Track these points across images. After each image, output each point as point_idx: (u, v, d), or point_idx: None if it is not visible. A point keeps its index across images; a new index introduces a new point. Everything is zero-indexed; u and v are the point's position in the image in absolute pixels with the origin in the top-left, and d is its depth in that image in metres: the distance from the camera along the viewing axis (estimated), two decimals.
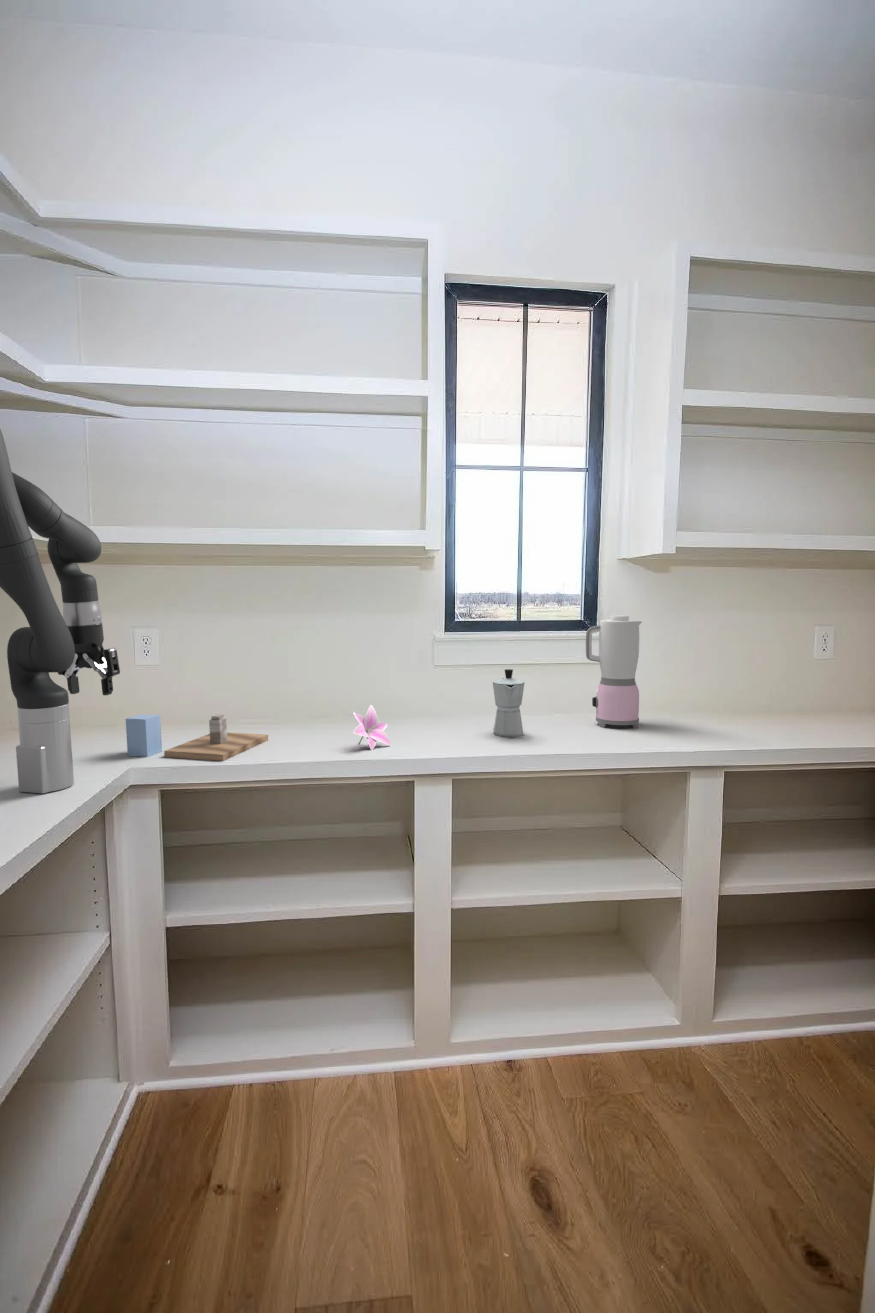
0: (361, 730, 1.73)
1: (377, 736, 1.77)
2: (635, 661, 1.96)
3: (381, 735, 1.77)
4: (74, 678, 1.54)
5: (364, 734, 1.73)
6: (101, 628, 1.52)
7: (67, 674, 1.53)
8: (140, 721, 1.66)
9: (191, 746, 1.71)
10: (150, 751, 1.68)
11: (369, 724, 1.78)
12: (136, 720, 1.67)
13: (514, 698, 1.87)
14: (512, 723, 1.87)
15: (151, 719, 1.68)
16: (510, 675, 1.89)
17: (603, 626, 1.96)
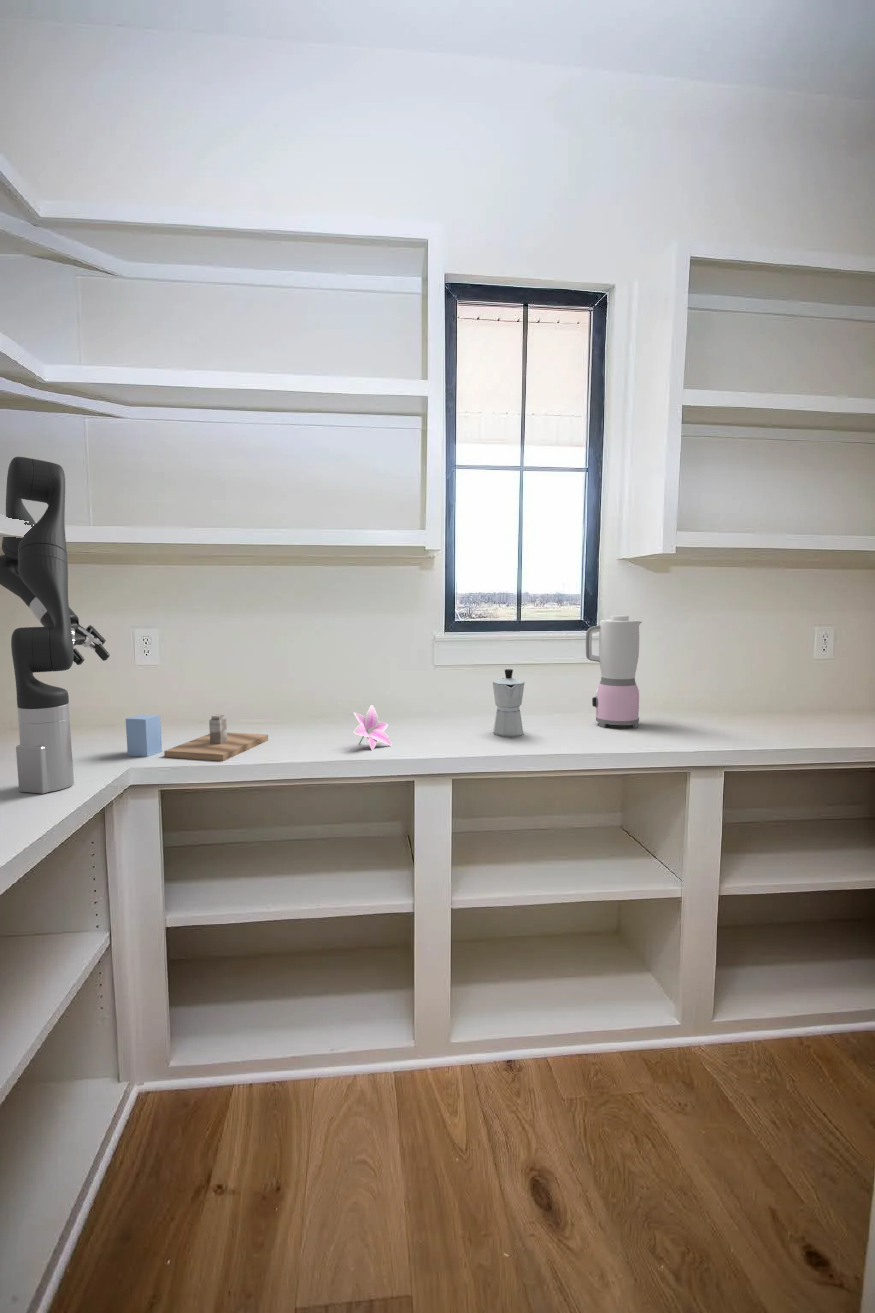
0: (361, 730, 1.73)
1: (378, 736, 1.77)
2: (635, 661, 1.96)
3: (381, 735, 1.77)
4: None
5: (365, 734, 1.73)
6: None
7: None
8: (140, 721, 1.66)
9: (191, 746, 1.71)
10: (150, 751, 1.68)
11: (370, 724, 1.78)
12: (136, 720, 1.67)
13: (514, 698, 1.87)
14: (512, 723, 1.87)
15: (151, 719, 1.68)
16: (510, 675, 1.89)
17: (603, 626, 1.96)
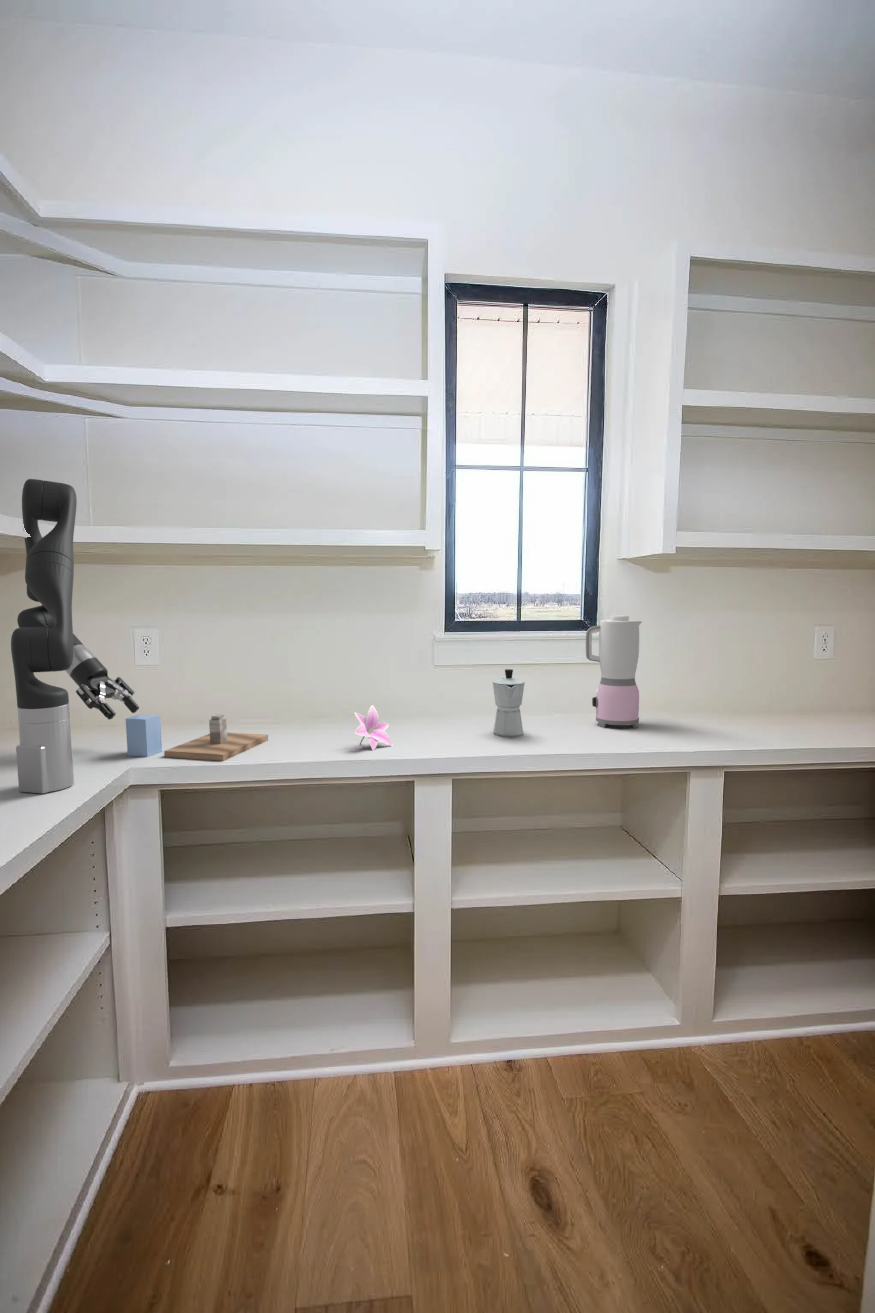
0: (362, 730, 1.73)
1: (379, 736, 1.77)
2: (635, 661, 1.96)
3: (382, 735, 1.77)
4: None
5: (365, 734, 1.73)
6: None
7: (102, 700, 1.66)
8: (140, 721, 1.66)
9: (191, 746, 1.71)
10: (150, 751, 1.68)
11: (371, 724, 1.78)
12: (136, 720, 1.67)
13: (514, 698, 1.87)
14: (513, 723, 1.87)
15: (151, 719, 1.68)
16: (510, 675, 1.89)
17: (603, 626, 1.96)
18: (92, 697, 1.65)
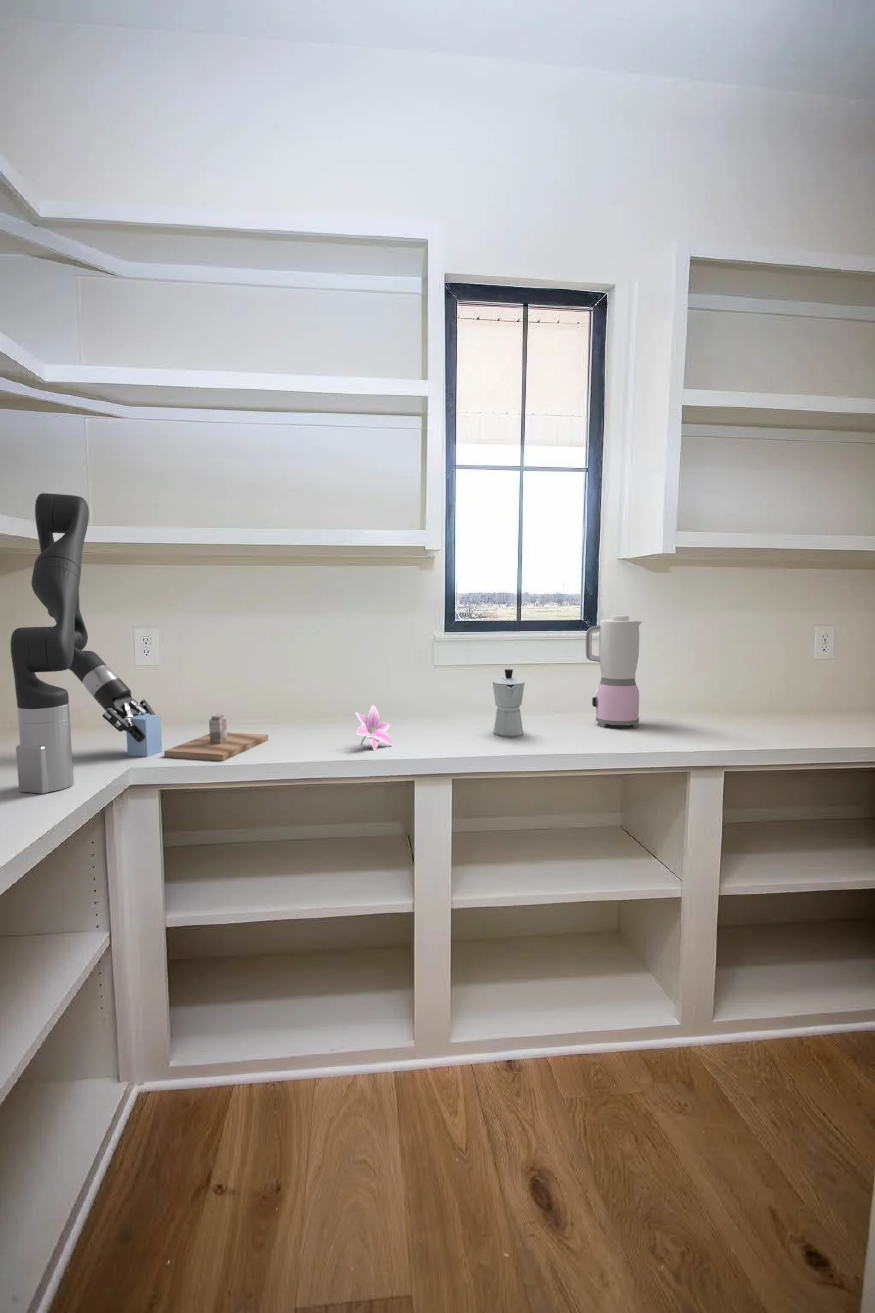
0: (363, 730, 1.73)
1: (380, 736, 1.77)
2: (635, 661, 1.96)
3: (383, 735, 1.77)
4: None
5: (367, 734, 1.73)
6: None
7: (132, 722, 1.67)
8: (140, 721, 1.66)
9: (191, 746, 1.71)
10: (150, 751, 1.68)
11: (372, 724, 1.78)
12: (136, 720, 1.67)
13: (514, 698, 1.87)
14: (512, 723, 1.87)
15: (151, 719, 1.68)
16: (510, 675, 1.89)
17: (603, 626, 1.96)
18: (121, 720, 1.64)
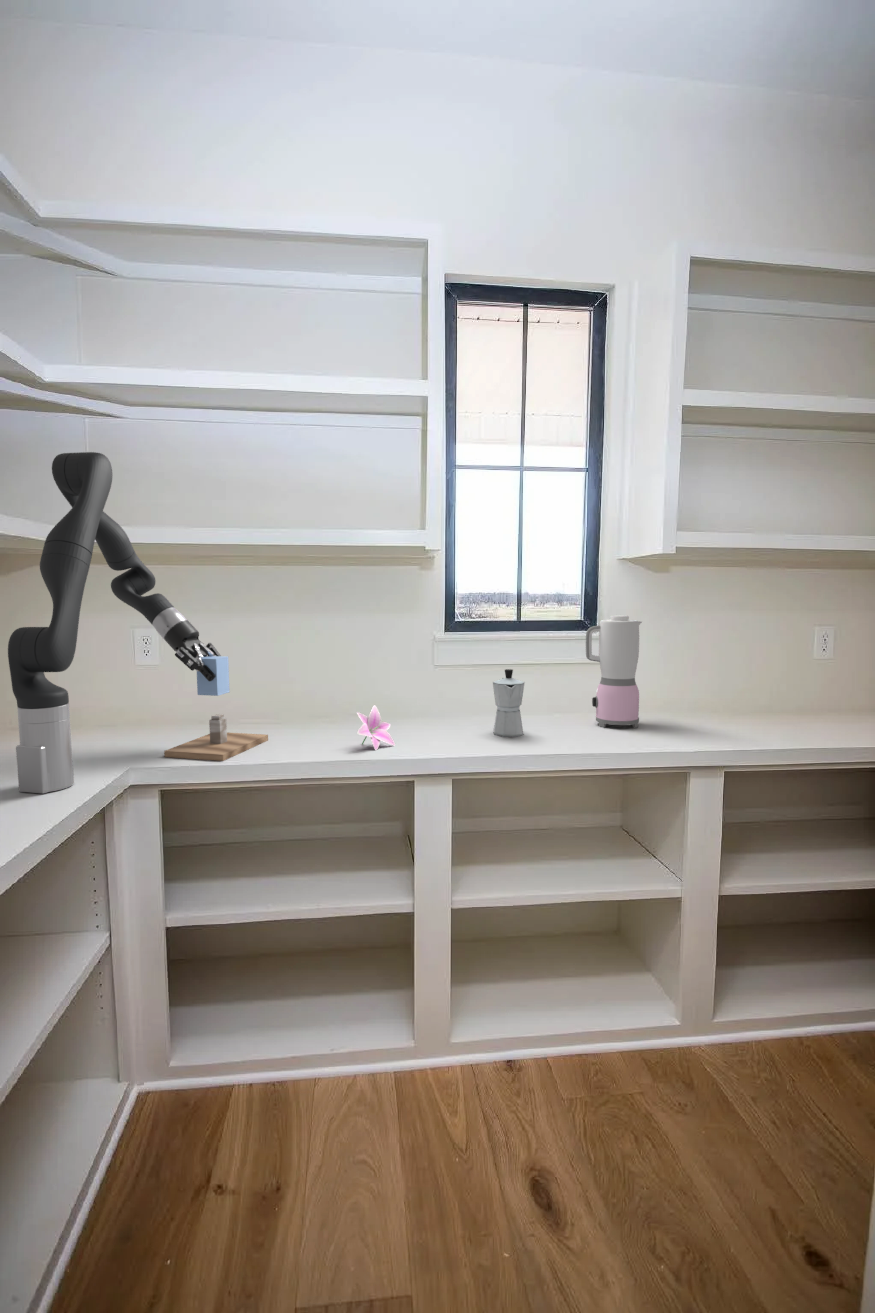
0: (365, 730, 1.73)
1: (381, 736, 1.77)
2: (635, 661, 1.96)
3: (384, 735, 1.77)
4: None
5: (368, 734, 1.73)
6: None
7: (203, 662, 1.70)
8: (211, 661, 1.70)
9: (191, 746, 1.71)
10: (220, 690, 1.72)
11: (373, 724, 1.78)
12: (207, 660, 1.70)
13: (514, 698, 1.87)
14: (512, 723, 1.87)
15: (221, 660, 1.72)
16: (510, 675, 1.89)
17: (603, 626, 1.96)
18: (194, 659, 1.68)
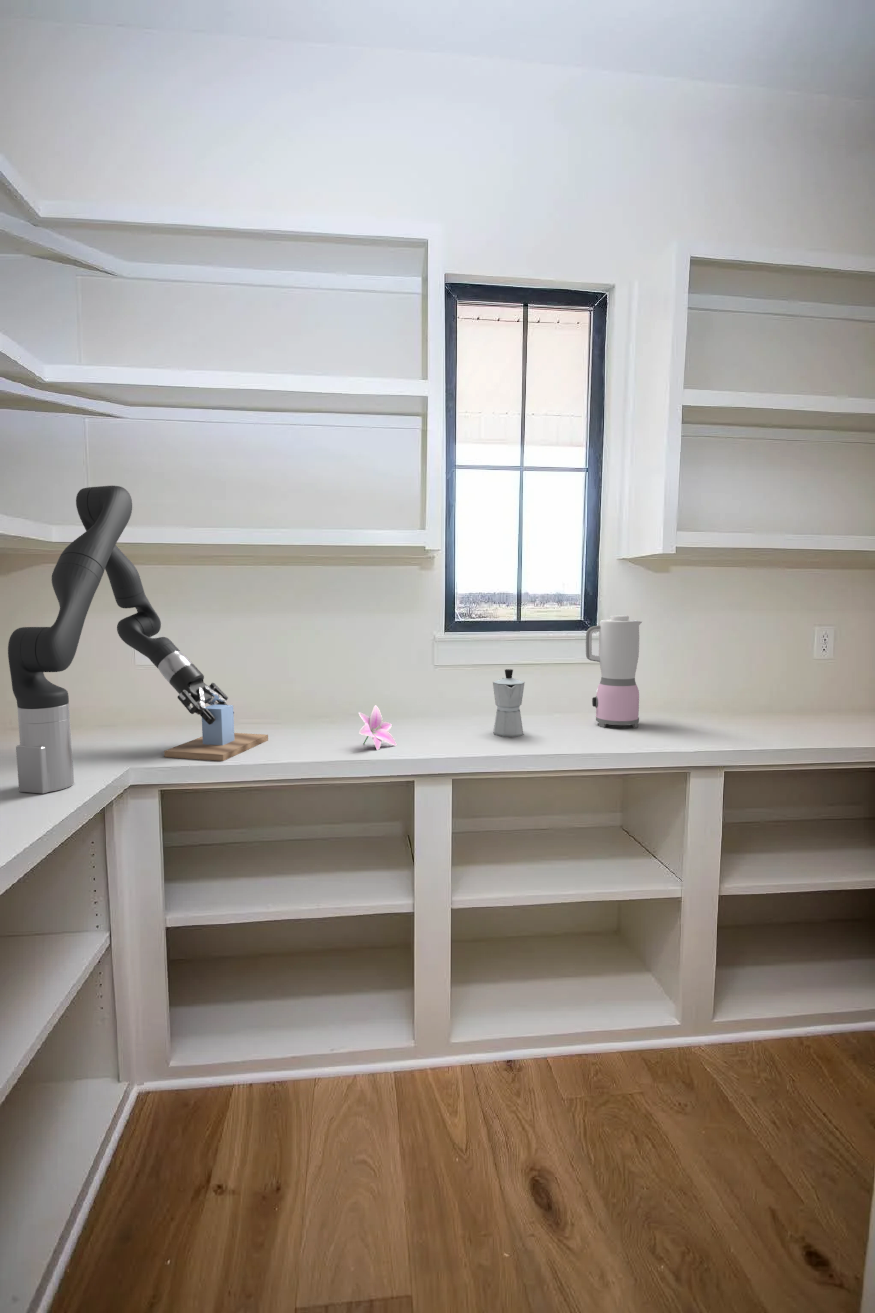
0: (366, 730, 1.73)
1: (383, 736, 1.77)
2: (635, 661, 1.96)
3: (386, 735, 1.77)
4: None
5: (370, 734, 1.73)
6: None
7: (203, 705, 1.70)
8: (216, 711, 1.71)
9: (191, 746, 1.71)
10: (225, 740, 1.73)
11: (374, 724, 1.78)
12: (212, 710, 1.72)
13: (514, 698, 1.87)
14: (513, 723, 1.87)
15: (226, 709, 1.73)
16: (510, 675, 1.89)
17: (603, 626, 1.96)
18: (194, 703, 1.68)
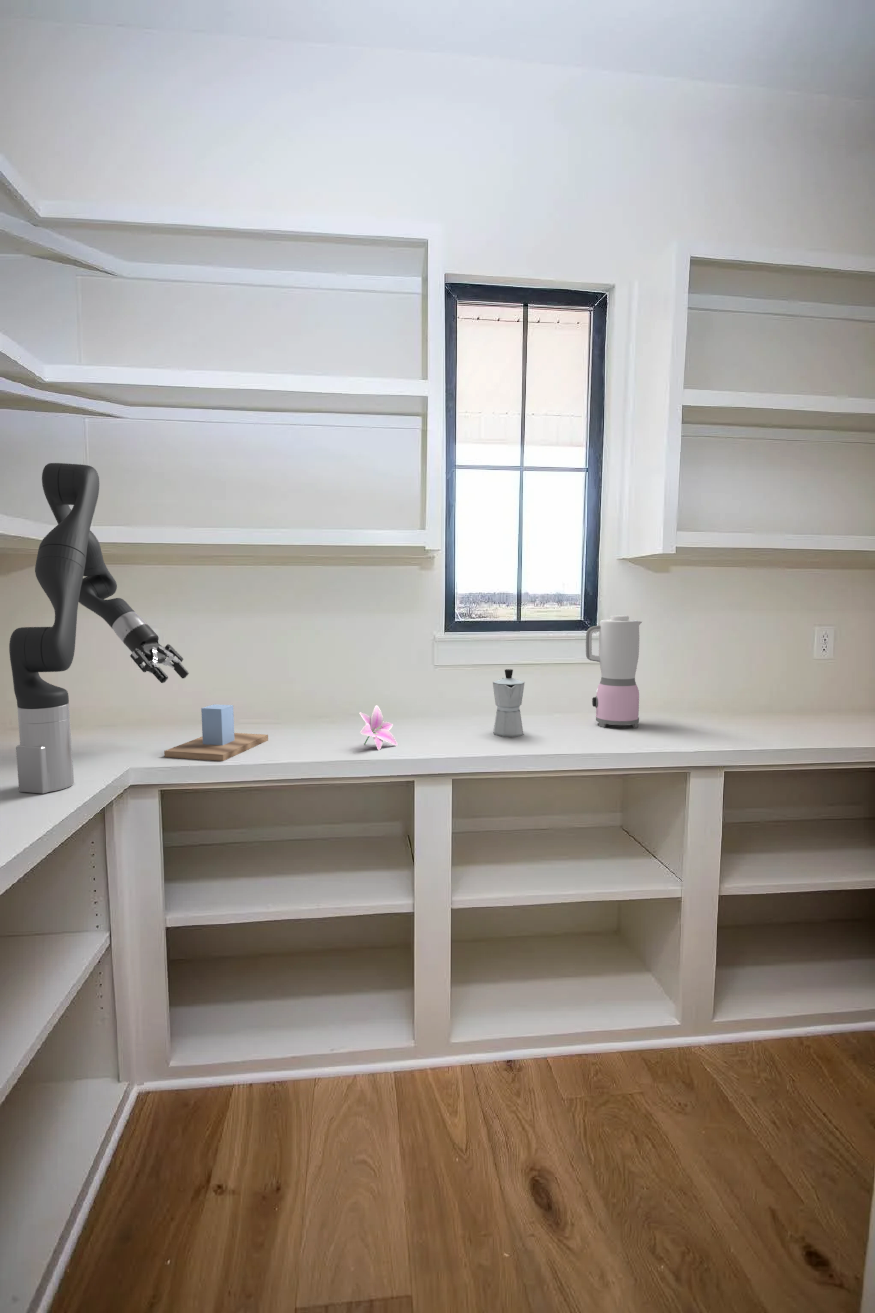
0: (368, 730, 1.73)
1: (384, 736, 1.77)
2: (635, 661, 1.96)
3: (387, 735, 1.77)
4: None
5: (371, 734, 1.73)
6: None
7: (155, 664, 1.72)
8: (216, 711, 1.71)
9: (191, 746, 1.71)
10: (225, 740, 1.73)
11: (375, 724, 1.78)
12: (212, 710, 1.72)
13: (514, 698, 1.87)
14: (512, 723, 1.87)
15: (226, 709, 1.73)
16: (510, 675, 1.89)
17: (603, 626, 1.96)
18: (146, 661, 1.70)
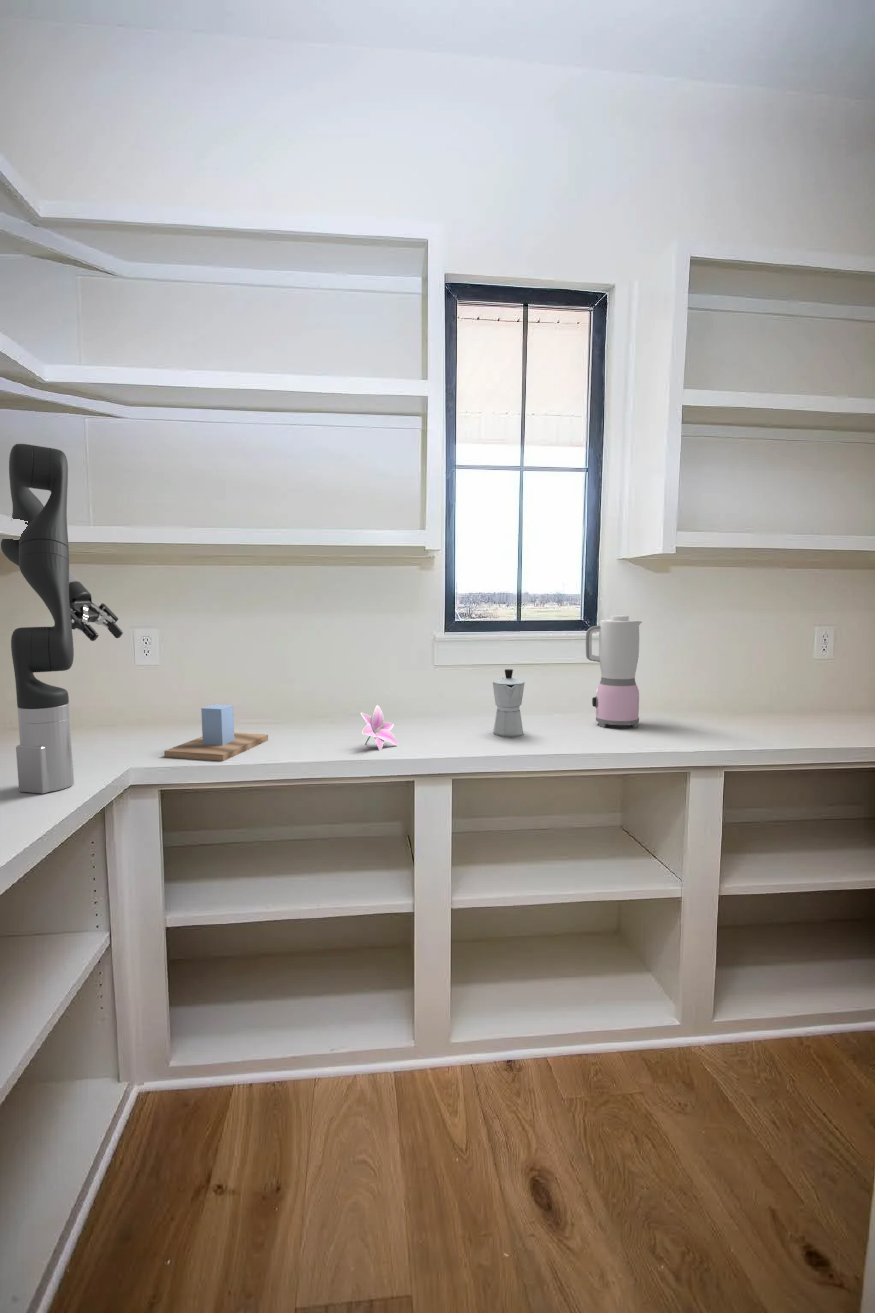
0: (369, 730, 1.73)
1: (385, 736, 1.77)
2: (635, 661, 1.96)
3: (388, 735, 1.77)
4: None
5: (372, 734, 1.73)
6: None
7: (85, 621, 1.66)
8: (216, 711, 1.71)
9: (191, 746, 1.71)
10: (225, 740, 1.73)
11: (376, 724, 1.78)
12: (212, 710, 1.72)
13: (514, 698, 1.87)
14: (512, 723, 1.87)
15: (226, 709, 1.73)
16: (510, 675, 1.89)
17: (603, 626, 1.96)
18: (75, 617, 1.65)
